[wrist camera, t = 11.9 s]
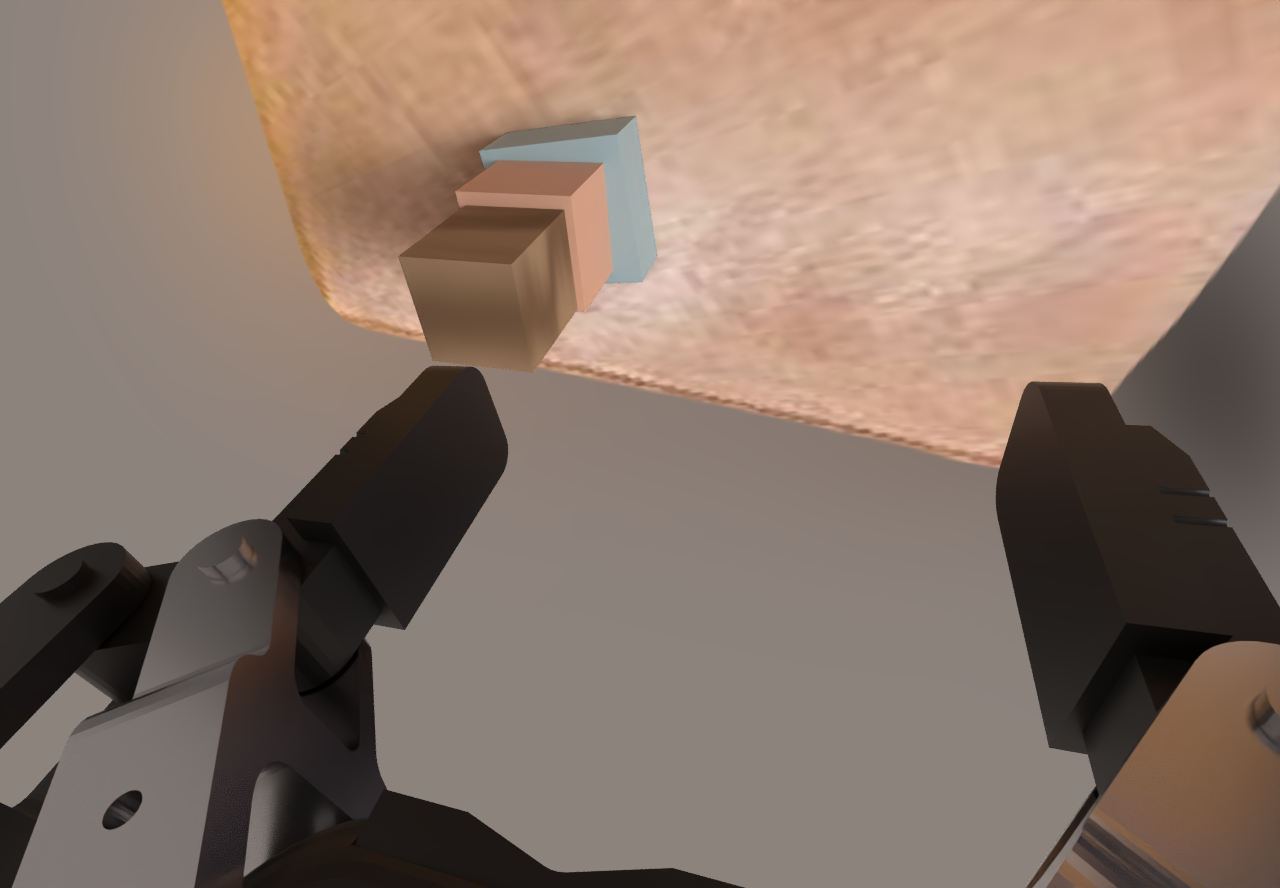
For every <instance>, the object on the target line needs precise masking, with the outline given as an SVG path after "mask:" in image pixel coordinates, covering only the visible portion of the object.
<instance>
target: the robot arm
mask: <svg viewBox="0 0 1280 888" xmlns="http://www.w3.org/2000/svg"><path fill="white" fill-rule="evenodd" d="M507 458H508V444H507V439H506V436H505V433H504V430H503V428H502V425H501V422H500V420H499V417H498V414H497V412H496V409H495V406H494V403H493V401H492V398H491V395H490V393H489V390H488V387H487V385H486V382H485V380H484V377H483V375H482V374H481V373H480V371H479V370H477V369H476V368H474V367H460V366H459V367H458V366H456V367H455V366H430V367H428V368H426V369H425V370H424V371H423V372H422V373H421V374H420V375H419V377H418V378H417V379H416V380H415V381H414V382H413V383H412V384H411V385H410V386H409V387H408V388H407V389H406V391H405V392H404V393H403V394H402V395H401V396H400V397H399V398H397V399H395V400H394V401H392V402H391V403H389V404H388V405H386V406H385V407H383V408H382V409H380V410H379V411H377V412H376V413H375V414H374V415H373V416H372V417H371V418H370V419H369V420H368V421H367V422H366V423H365V425H363V426H362V427H361V428H360V430H359V431H358V432H357V436H356V437H352V438H351V439H350V440H349V441H348V442H347V443H346V445H344V446H343V447H342V448H341V450H340V455H335V456H334V457H333V458H332V459H331V460H330V461H329V462H328V463H327V464H326V465H325V466H324V467H323V468H322V469H321V470H320V472H319V473H318V474H317V475H316V476H315V477H314V478H313V479H312V480H311V481H310V482H309V483H308V484H307V485H306V486H305V487H304V488H303V489H302V490H301V492H300V493H299V494H298V495H297V496H296V497H295V498H294V499H293V500H292V501H291V502H290V503H289V504H288V505H287V506H286V507H285V508H284V509H283V511H282V512H281V513H280V514H279V515H278V516H277V517H276V518H275V519H274V520H273V521H270V520H266V519H251V520H247V521H242V522H238V523H235V524H232V525H230V526H227V527H225V528H223V529H221V530H219V531H217V532H215V533H213V534H211V535H210V536H208V537H206V538H205V539H204V540H202V541H201V542H199V543H198V544H197V545H195V546H194V547H193V548H192V549H191V550H190V551H189V552H188V553H187V554H186V555H185V556H184V557H183V558H182V559H181V560H180V561H179V562H174V563H168V564H161V565H156V566H150V567H143V566H142V565H141V564H140V563H139V562H138V561H137V560H136V559H135V558H134V557H133V556H132V555H131V554H130V553H129V552H128V551H126V549H124V547H122V546H121V545H119V544H117V543H112V542H111V543H110V542H109V543H99V544H94V545H90V546H86V547H83V548H81V549H78V550H75V551H73V552H71V553H69V554H66V555H65V556H63V557H61V558H59V559H57V560H55V561H54V562H52V563H50V564H49V565H47V566H46V567H44V568H43V569H41V570H40V571H38V572H37V573H36V574H35V575H33V576H32V577H31V578H30V579H28V580H27V581H26V582H25V583H24V584H23V585H21V586H20V587H19V588H18V589H17V590H16V591H14V592H13V593H12V594H11V595H10V596H8V597H7V598H6V599H5V600H4V601H3V602H1V603H0V749H1V748H2V747H3V746H4V745H5V743H6V742H7V741H8V740H9V739H10V738H11V737H12V736H13V735H14V734H15V733H16V732H17V731H18V730H19V729H20V728H21V727H22V726H23V725H24V724H25V723H26V722H27V721H28V720H29V719H30V718H31V717H32V716H33V714H34V713H35V712H36V711H37V710H38V709H39V708H40V707H41V706H42V705H43V704H44V703H45V702H46V701H47V700H48V699H49V698H50V697H51V696H52V695H53V694H54V693H55V691H57V690H58V689H59V688H60V687H61V685H63V683H64V682H65V681H66V680H67V679H68V678H69V677H70V676H71V675H72V674H73V673H74V672H75V673H76V674H78V675H79V676H80V677H82V678H83V679H85V680H86V681H87V682H89V683H90V684H92V685H93V686H94V687H96V688H97V689H99V690H100V691H101V692H103V693H104V694H105V695H107V696H108V697H110V698H111V699H112V700H113V701H112V702H111V703H110V704H109V705H108V706H107V707H106V709H105V710H104V711H102V712H99V713H96V714H94V715H92V716H90V717H87V718H86V719H85V720H83V721H82V722H81V723H80V724H79V725H78V726H77V727H76V728H75V729H74V731H73V732H72V733H71V735H70V736H69V739H68V741H67V743H66V745H65V747H64V750H63V753H62V756H61V758H60V761H59V762H58V763H57V764H56V765H55V766H54V768H52V770H51V771H50V772H49V773H48V774H47V775H46V777H45V778H44V779H43V780H42V781H41V782H40V783H39V784H38V786H37V787H36V788H35V789H34V790H33V791H32V792H31V793H30V794H29V795H28V796H27V797H26V798H25V799H24V800H23V801H22V802H20V803H19V804H17V805H16V806H14V807H13V808H11V807H8V806H6V805H4V804H2V803H0V888H744V887H740V886H736V885H732V884H729V883H725V882H721V881H718V880H714V879H711V878H707V877H703V876H700V875H696V874H692V873H688V872H685V871H681V870H678V869H674V868H665V869H640V870H616V871H591V872H569V873H565V872H556V871H553V870H550V869H548V868H547V867H545V866H543V865H542V864H540V863H539V862H538V861H536V860H535V859H533V858H532V857H531V856H529V855H528V854H526V853H525V852H523V851H522V850H521V849H519V848H518V847H516V846H515V845H514V844H512V843H511V842H509V841H508V840H507V839H505V838H504V837H502V836H501V835H499V834H498V833H497V832H495V831H494V830H492V829H491V828H490V827H488V826H487V825H485V824H484V823H482V822H481V821H480V820H478V819H477V818H476V817H474V816H473V815H471V814H470V813H468V812H465V811H462V810H458V809H454V808H451V807H447V806H444V805H440V804H436V803H433V802H429V801H425V800H422V799H418V798H414V797H411V796H407V795H403V794H400V793H396V792H392V791H388V790H387V788H386V786H385V784H384V781H383V779H382V777H381V774H380V771H379V767H378V763H377V756H376V735H375V713H374V689H373V668H372V651H371V647H370V644H369V642H368V641H367V640H366V639H365V636H366V635H367V633H368V632H369V630H370V629H371V627H372V626H373V624H375V625H380V626H386V627H392V628H397V629H402V630H405V629H406V627H407V626H408V624H409V622H410V621H411V619H412V618H413V616H414V614H415V613H416V611H417V610H418V608H419V606H420V605H421V603H422V602H423V600H424V598H425V597H426V595H427V594H428V592H429V591H430V589H431V587H432V586H433V584H434V582H435V581H436V579H437V578H438V576H439V575H440V573H441V571H442V570H443V568H444V567H445V565H446V563H447V562H448V560H449V558H450V557H451V555H452V554H453V552H454V551H455V549H456V547H457V546H458V544H459V543H460V541H461V539H462V538H463V536H464V535H465V533H466V532H467V530H468V528H469V527H470V525H471V524H472V522H473V520H474V519H475V517H476V516H477V514H478V512H479V511H480V509H481V508H482V506H483V504H484V503H485V501H486V499H487V498H488V496H489V494H490V493H491V492H492V490H493V488H494V487H495V485H496V484H497V482H498V480H499V479H500V477H501V476H502V474H503V472H504V470H505V467H506V464H507ZM1209 491H1210V490H1209V488H1208V486H1207V485H1206V483H1205V481H1204V480H1203V478H1202V476H1201V475H1200V473H1199V471H1198V470H1197V468H1196V466H1195V465H1194V463H1193V461H1192V460H1191V458H1190V456H1189V455H1187V454H1186V453H1185V452H1184V451H1182V450H1181V449H1180V448H1179V447H1177V446H1176V445H1175V444H1173V443H1172V442H1171V441H1170V440H1168V439H1167V438H1166V437H1164V436H1163V435H1162V434H1160V433H1159V432H1158V431H1157V430H1155V429H1154V428H1153V427H1151V426H1138V425H1125V423H1124V421H1123V419H1122V417H1121V415H1120V413H1119V411H1118V409H1117V407H1116V405H1115V403H1114V401H1113V399H1112V397H1111V395H1110V393H1109V391H1108V390H1107V388H1106V387H1105V386H1104V385H1103V384H1101V383H1072V382H1030V383H1029V384H1028V385H1027V386H1026V388H1025V389H1024V392H1023V394H1022V397H1021V400H1020V403H1019V407H1018V410H1017V413H1016V416H1015V420H1014V423H1013V426H1012V429H1011V433H1010V436H1009V439H1008V443H1007V446H1006V449H1005V452H1004V456H1003V459H1002V462H1001V465H1000V469H999V473H998V478H997V485H996V510H997V517H998V522H999V526H1000V531H1001V535H1002V539H1003V544H1004V548H1005V553H1006V557H1007V562H1008V566H1009V571H1010V575H1011V580H1012V584H1013V588H1014V593H1015V597H1016V602H1017V606H1018V611H1019V615H1020V619H1021V624H1022V629H1023V633H1024V637H1025V642H1026V646H1027V651H1028V655H1029V660H1030V664H1031V668H1032V673H1033V677H1034V682H1035V686H1036V691H1037V695H1038V700H1039V704H1040V709H1041V713H1042V718H1043V722H1044V727H1045V731H1046V735H1047V740H1048V744H1049V747H1050V748H1055V749H1061V750H1066V751H1071V752H1077V753H1083V754H1088V757H1089V760H1090V764H1091V768H1092V771H1093V775H1094V779H1095V783H1096V786H1095V788H1094V789H1093V790H1092V791H1091V793H1090V794H1089V795H1088V797H1087V798H1086V800H1085V801H1084V802H1083V804H1082V805H1081V807H1080V808H1079V810H1078V811H1077V813H1076V814H1075V815H1074V817H1073V818H1072V820H1071V821H1070V823H1069V824H1068V825H1067V827H1066V828H1065V830H1064V831H1063V833H1062V834H1061V835H1060V837H1059V838H1058V840H1057V841H1056V843H1055V844H1054V845H1053V847H1052V849H1051V850H1050V851H1049V853H1048V854H1047V855H1046V857H1045V858H1044V860H1043V861H1042V863H1041V864H1040V865H1039V867H1038V868H1037V870H1036V871H1035V873H1034V874H1033V876H1032V877H1031V878H1030V880H1029V881H1028V883H1027V884H1026V886H1025V887H1024V888H1280V607H1279V605H1278V604H1277V602H1276V600H1275V599H1274V597H1273V595H1272V594H1271V592H1270V590H1269V588H1268V587H1267V585H1266V583H1265V582H1264V580H1263V578H1262V577H1261V575H1260V573H1259V572H1258V570H1257V568H1256V567H1255V565H1254V564H1253V562H1252V560H1251V558H1250V557H1249V555H1248V553H1247V552H1246V550H1245V548H1244V547H1243V545H1242V543H1241V542H1240V540H1239V539H1238V537H1237V535H1236V533H1235V532H1234V530H1233V528H1230V527H1227V524H1226V523H1227V518H1226V516H1225V515H1224V513H1223V512H1222V510H1221V508H1220V506H1219V505H1218V503H1217V501H1216V500H1215V498H1214V497H1209Z"/></svg>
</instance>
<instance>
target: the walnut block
mask: <svg viewBox="0 0 1280 888" xmlns="http://www.w3.org/2000/svg"><path fill="white" fill-rule="evenodd" d="M398 257H399V260H400V263H401V266H402V269H403V272H404V275H405V278H406V281H407V284H408V287H409V290H410V293H411V296H412V299H413V302H414V305H415V308H416V311H417V314H418V317H419V320H420V323H421V326H422V330H423V333H424V336H425V339H426V342H427V345H428V348H429V351H430V354H431V357H432V360H433V361H439V362H448V363H457V364H465V365H475V366H482V367H492V368H500V369H509V370H518V371H526V372H534V370H535V369H536V368H537V366H538V365H539V363H540V362H541V361H542V359H543V358H544V356H545V355H546V353H547V352H548V351H549V349H550V348H551V346H552V345H553V343H554V342H555V341H556V339H557V338H558V336H559V335H560V333H561V332H562V331H563V329H564V328H565V326H566V325H567V323H568V322H569V321H570V319H571V318H572V316H573V315H574V313H575V312H576V311H577V309H578V307H577V300H576V293H575V285H574V278H573V270H572V263H571V256H570V248H569V241H568V233H567V226H566V219H565V211H564V210H559V209H538V208H517V207H495V206H473V205H465V206H464V207H463V208H461V209H460V210H459V211H457V212H456V213H455V214H453V215H452V216H451V217H449V218H448V219H447V220H445V221H444V222H443V223H442V224H440V225H439V226H438V227H436V228H435V229H434V230H432V231H431V232H430V233H428V234H427V235H426V236H425V237H423V238H422V239H421V240H419V241H418V242H417V243H415V244H414V245H413V246H411V247H410V248H409V249H408V250H406V251H405V252H404V253H402V254H401V255H400V256H398Z"/></svg>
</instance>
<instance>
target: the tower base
mask: <svg viewBox="0 0 1280 888" xmlns="http://www.w3.org/2000/svg"><path fill="white" fill-rule="evenodd" d="M479 153H480V156H481V159H482V162H483V166H484V169H485V170H486V169H487V168H489V167H490V166H492V165H493V164H494V163H496V162H497V161H499V160H516V161H552V162H587V163H604V172H605V184H606V195H607V207H608V219H609V230H610V242H611V253H612V265H613V272H612V273H611V275H610V276H609V278H608V279H607V281H606V282H605V283H629V282H643V280H644V279H645V277H646V275H647V273H648V272H649V270H650V268H651V266H652V265H653V263H654V261H655V259H656V257H657V249H656V243H655V236H654V230H653V223H652V217H651V210H650V203H649V197H648V190H647V184H646V177H645V171H644V164H643V158H642V151H641V144H640V138H639V131H638V125H637V118H636V116H632V117H624V118H617V119H609V120H601V121H593V122H585V123H577V124H570V125H562V126H554V127H546V128H538V129H530V130H523V131H515V132H507V133H506V134H504V135H503V136H501V137H500V138H498V139H496V140H495V141H493V142H492V143H490V144H489V145H487V146H486V147H484V148H483V149H481V150H480V151H479Z"/></svg>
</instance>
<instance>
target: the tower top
mask: <svg viewBox="0 0 1280 888" xmlns="http://www.w3.org/2000/svg"><path fill="white" fill-rule="evenodd" d="M455 193H456V197H457V201H458V205H459V209H461V208H463V207H464V206H465V205H473V206H495V207H517V208H538V209H559V210H564V211H565V219H566V226H567V233H568V241H569V248H570V256H571V263H572V270H573V278H574V285H575V293H576V300H577V307H578V309H577V311H576V312H586V310H587V309H588V307H589V306H590V304H591V303H592V301H593V300H594V298H595V297H596V295H597V294H598V292H599V291H600V290H601V288H602V287H603V285H604V284H605V282H606V281H607V279H608V278H609V276H610V275H611V273H612V272H613V265H612V253H611V242H610V230H609V219H608V207H607V195H606V184H605V172H604V163H587V162H552V161H516V160H499V161H497V162H496V163H494V164H493V165H492V166H490V167H489V168H487V169H486V170H485V171H483V172H482V173H480V174H479V175H477V176H476V177H475V178H473V179H472V180H470V181H469V182H468V183H466V184H465V185H463V186H462V187H461V188H459V189H458V190H456V191H455Z"/></svg>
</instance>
